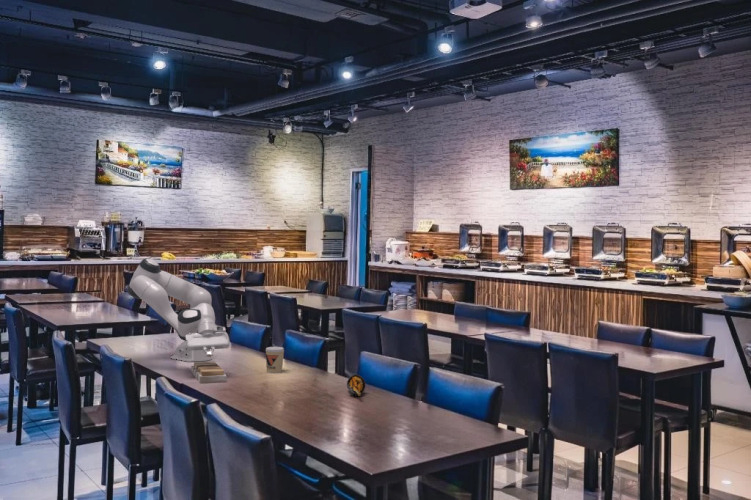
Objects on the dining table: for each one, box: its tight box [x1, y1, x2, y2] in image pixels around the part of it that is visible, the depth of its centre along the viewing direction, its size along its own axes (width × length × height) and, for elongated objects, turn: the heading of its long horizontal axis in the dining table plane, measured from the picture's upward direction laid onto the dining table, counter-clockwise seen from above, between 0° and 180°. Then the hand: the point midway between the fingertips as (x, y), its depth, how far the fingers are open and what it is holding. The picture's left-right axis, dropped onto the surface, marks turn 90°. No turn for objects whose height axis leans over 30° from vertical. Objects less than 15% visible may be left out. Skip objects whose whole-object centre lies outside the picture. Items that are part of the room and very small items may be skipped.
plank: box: [198, 364, 225, 376], centre depth 327 cm, size 13×10×2 cm
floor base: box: [190, 360, 227, 384], centre depth 333 cm, size 27×12×5 cm, turn 24°
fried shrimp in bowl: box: [346, 374, 367, 397], centre depth 303 cm, size 9×11×18 cm
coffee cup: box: [265, 346, 285, 374], centre depth 350 cm, size 9×9×12 cm
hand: (209, 355), depth 327 cm, fingers closed
